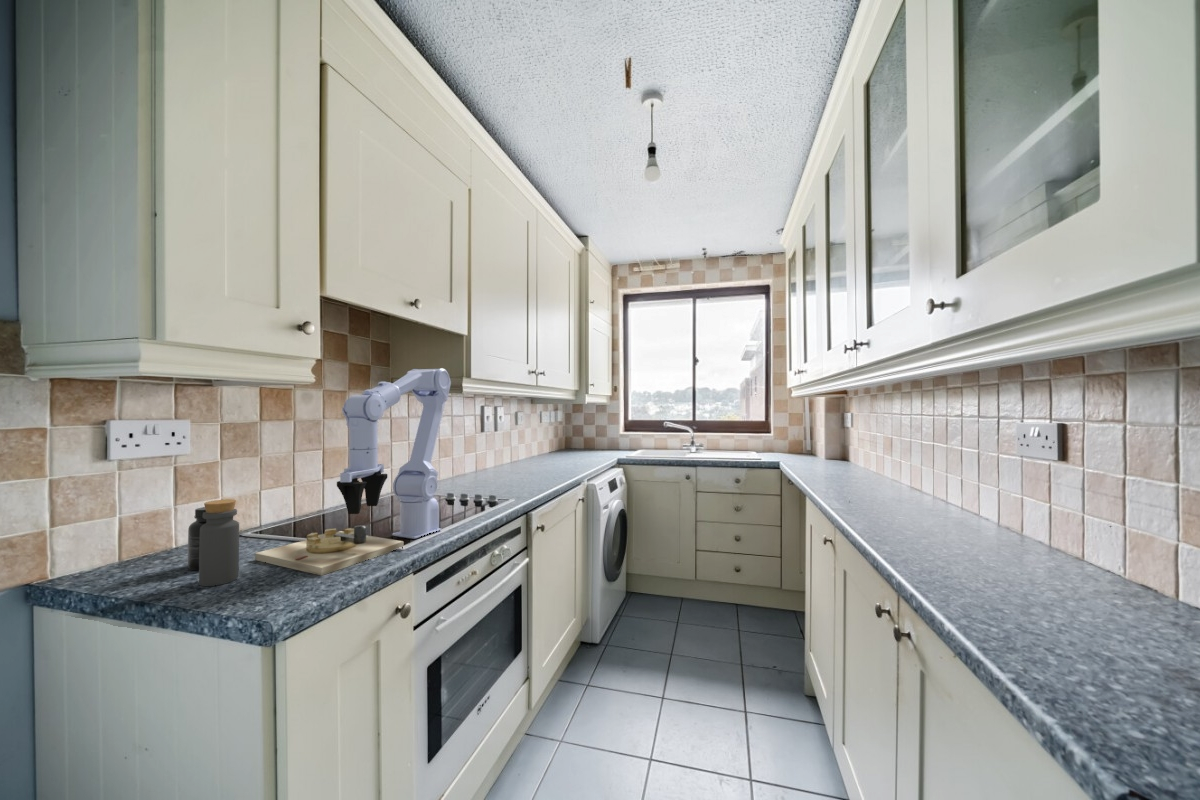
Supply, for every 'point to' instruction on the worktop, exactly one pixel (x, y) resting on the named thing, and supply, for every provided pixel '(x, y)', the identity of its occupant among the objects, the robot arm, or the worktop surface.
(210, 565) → the bottle
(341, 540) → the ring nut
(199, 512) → the supplement bottle
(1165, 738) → the worktop surface
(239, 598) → the worktop surface
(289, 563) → the base board
